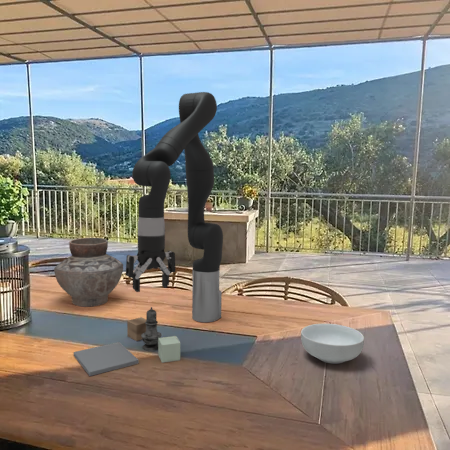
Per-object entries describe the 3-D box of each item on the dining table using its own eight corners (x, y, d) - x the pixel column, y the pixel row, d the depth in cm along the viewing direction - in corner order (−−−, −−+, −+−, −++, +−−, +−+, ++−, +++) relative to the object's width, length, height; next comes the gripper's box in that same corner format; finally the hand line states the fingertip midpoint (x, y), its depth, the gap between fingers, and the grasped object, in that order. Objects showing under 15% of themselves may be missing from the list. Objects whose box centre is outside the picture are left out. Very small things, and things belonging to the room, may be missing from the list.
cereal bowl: (363, 350, 125) (365, 327, 124) (361, 376, 110) (363, 349, 109) (304, 341, 131) (305, 319, 130) (295, 365, 115) (296, 339, 114)
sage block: (175, 352, 121) (175, 335, 121) (180, 360, 117) (180, 342, 116) (158, 355, 120) (158, 338, 119) (161, 362, 115) (161, 345, 114)
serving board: (119, 345, 125) (119, 341, 125) (138, 363, 114) (138, 359, 114) (73, 355, 118) (73, 352, 118) (89, 376, 107) (89, 372, 107)
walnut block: (141, 332, 136) (141, 317, 135) (150, 337, 132) (150, 321, 132) (127, 336, 132) (127, 320, 132) (136, 341, 129) (136, 325, 128)
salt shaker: (157, 351, 121) (157, 310, 120) (138, 349, 123) (137, 309, 121) (164, 343, 127) (164, 304, 126) (145, 341, 128) (145, 302, 127)
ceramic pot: (113, 313, 152) (112, 247, 149) (43, 312, 152) (41, 245, 149) (130, 293, 177) (129, 235, 173) (70, 291, 177) (68, 234, 174)
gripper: (167, 229, 128) (167, 283, 130) (121, 232, 120) (122, 289, 122) (180, 233, 122) (179, 289, 124) (132, 236, 113) (132, 296, 115)
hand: (151, 289), depth 123 cm, fingers open, 8 cm apart
